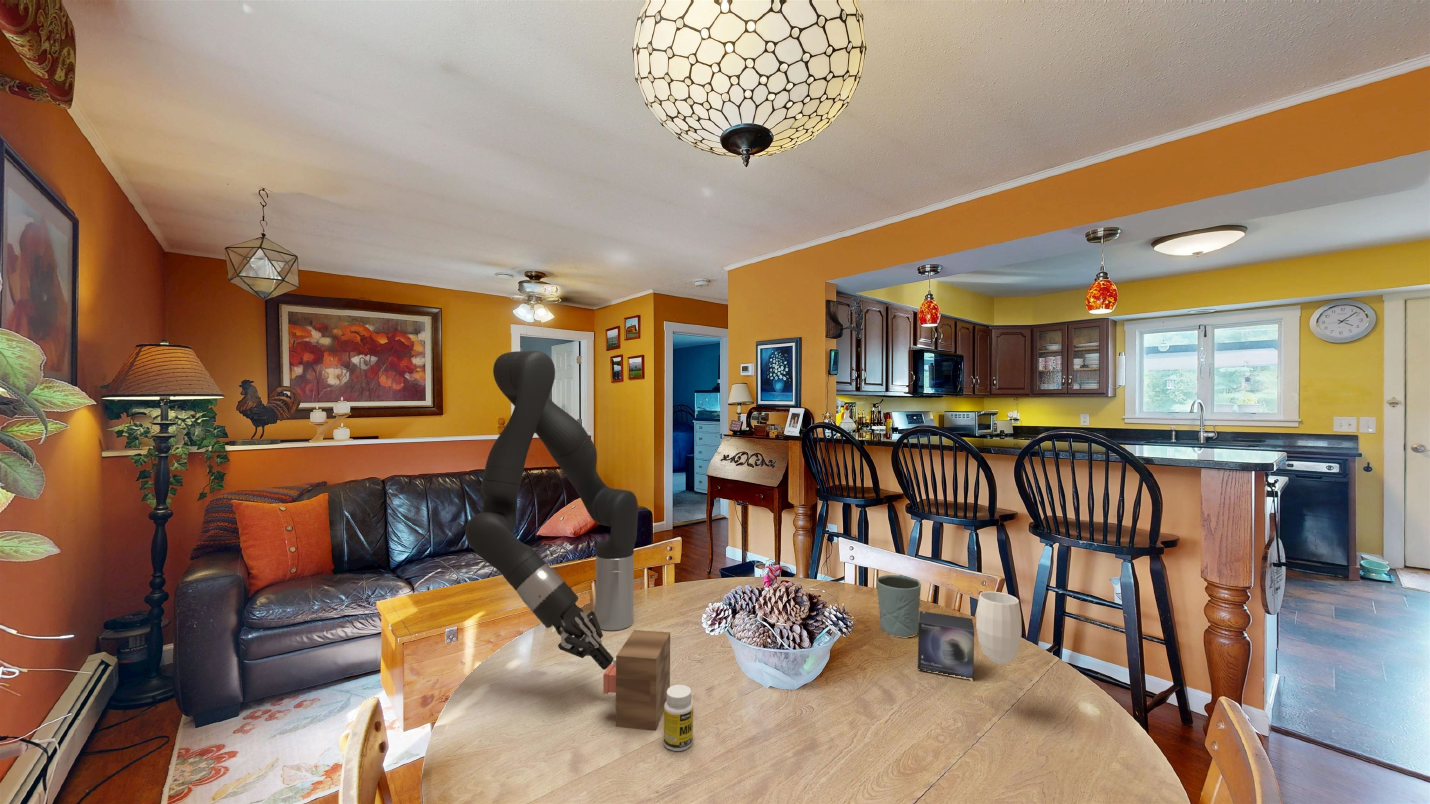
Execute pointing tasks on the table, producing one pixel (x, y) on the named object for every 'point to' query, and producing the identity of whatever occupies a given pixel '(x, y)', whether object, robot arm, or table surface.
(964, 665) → the small box
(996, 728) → the table surface
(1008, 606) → the cup
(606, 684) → the red button
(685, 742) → the supplement bottle
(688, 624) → the table surface
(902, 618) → the green embossed pot
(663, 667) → the walnut box
